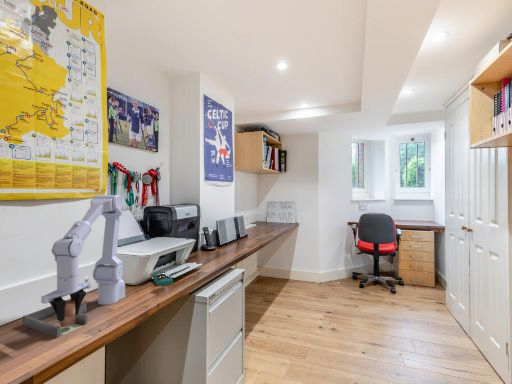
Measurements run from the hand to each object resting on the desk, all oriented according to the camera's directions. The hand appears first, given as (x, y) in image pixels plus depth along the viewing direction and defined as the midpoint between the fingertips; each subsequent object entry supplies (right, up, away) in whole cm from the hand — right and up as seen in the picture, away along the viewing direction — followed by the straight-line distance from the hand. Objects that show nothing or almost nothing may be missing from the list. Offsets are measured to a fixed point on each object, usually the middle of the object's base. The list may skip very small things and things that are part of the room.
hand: (68, 317), depth 89 cm
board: (-4, -5, +5) cm, 8 cm away
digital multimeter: (+13, -5, +50) cm, 52 cm away
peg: (0, -2, 0) cm, 2 cm away
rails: (-5, -4, +5) cm, 8 cm away
